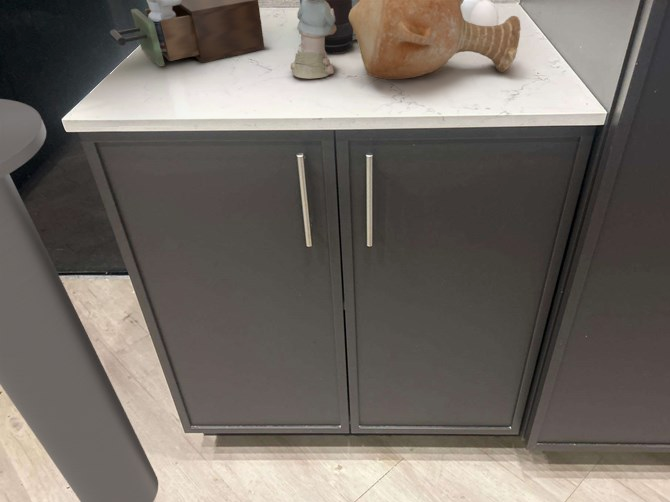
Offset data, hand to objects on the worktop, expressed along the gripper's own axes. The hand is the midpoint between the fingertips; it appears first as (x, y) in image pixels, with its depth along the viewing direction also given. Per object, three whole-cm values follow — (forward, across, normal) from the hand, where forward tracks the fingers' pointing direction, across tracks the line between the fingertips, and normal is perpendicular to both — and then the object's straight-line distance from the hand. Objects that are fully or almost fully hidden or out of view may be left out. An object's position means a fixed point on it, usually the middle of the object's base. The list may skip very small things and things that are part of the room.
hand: (162, 20), depth 110 cm
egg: (+7, +28, +58) cm, 65 cm away
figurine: (+7, +24, +20) cm, 32 cm away
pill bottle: (+5, 0, 0) cm, 5 cm away
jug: (+7, +38, +37) cm, 53 cm away
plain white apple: (+7, +17, +63) cm, 66 cm away
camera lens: (+7, +15, +30) cm, 34 cm away
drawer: (+6, 0, -1) cm, 6 cm away
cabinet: (+7, 0, +11) cm, 13 cm away
